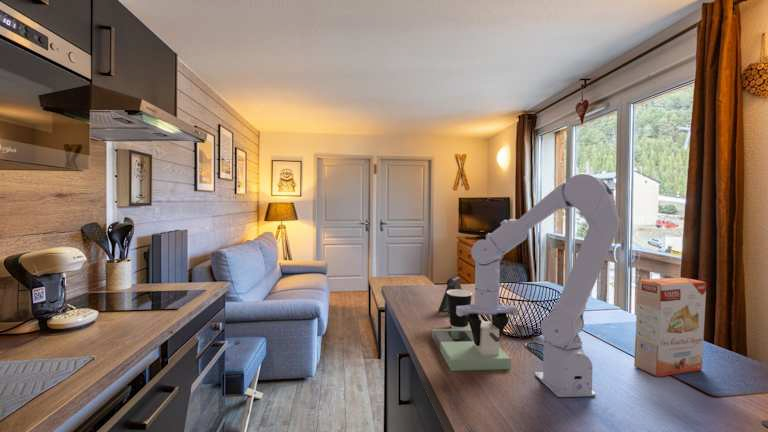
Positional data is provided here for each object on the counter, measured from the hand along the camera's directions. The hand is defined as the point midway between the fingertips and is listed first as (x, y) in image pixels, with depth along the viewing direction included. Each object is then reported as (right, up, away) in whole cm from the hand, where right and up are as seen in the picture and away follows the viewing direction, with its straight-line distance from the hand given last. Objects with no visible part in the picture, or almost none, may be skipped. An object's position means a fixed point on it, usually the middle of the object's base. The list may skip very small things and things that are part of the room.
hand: (486, 344), depth 85 cm
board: (-3, -4, +5) cm, 7 cm away
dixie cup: (-2, -4, +23) cm, 23 cm away
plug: (0, -1, -1) cm, 2 cm away
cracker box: (+41, -5, -4) cm, 42 cm away
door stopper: (0, -3, +40) cm, 40 cm away
